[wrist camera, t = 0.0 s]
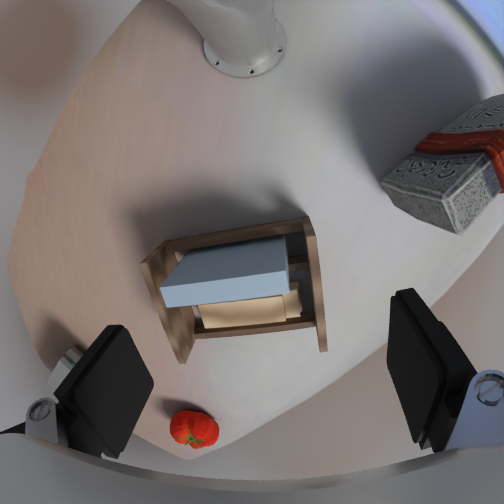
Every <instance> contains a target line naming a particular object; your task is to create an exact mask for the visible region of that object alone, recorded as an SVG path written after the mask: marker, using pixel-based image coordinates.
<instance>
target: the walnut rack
mask: <svg viewBox="0 0 504 504" xmlns="http://www.w3.org/2000/svg"><path fill="white" fill-rule="evenodd" d="M299 231H303V233H304V239H305V246H306V253H307V255H300V256H294V257H288V270H289V272H291V271H298V270H304V269H309V275H310V283H311V291H312V299H313V308H314V312H308V313H301V314H300V317H292V318H286V321H283V322H274V323H264V324H254V325H244V326H232V327H219V328H205V327H204V324H203V325H198V324H197V321H196V318H195V315H194V312H193V309H192V307H191V305H189V306H179V307H169V308H167V307H166V304H165V302H164V299H163V296H162V293H161V290H160V286H161V285H162V284H163V283H164V281H165V280H166V279H167V278H168V276H169V275H170V274H171V273H172V271H173V270H174V269H175V268H176V266H177V265H178V263H177V259H176V256H175V253H174V252H177V251H183V250H188V249H194V248H200V247H206V246H212V245H218V244H224V243H230V242H236V241H242V240H249V239H255V238H261V237H267V236H273V235H280V234H286V233H292V232H299ZM140 266H141V269H142V272H143V275H144V278H145V281H146V284H147V286H148V289H149V292H150V294H151V297H152V300H153V302H154V305H155V308H156V310H157V313H158V315H159V318H160V320H161V323H162V325H163V328H164V330H165V333H166V335H167V337H168V340H169V342H170V344H171V347H172V349H173V351H174V354H175V356H176V358H177V360H178V362H179V364H186V361H187V359H188V356H189V354H190V351H191V349H192V347H193V344H194V342H195V340H196V339H205V338H219V337H231V336H242V335H252V334H262V333H271V332H279V331H287V330H295V329H302V328H309V327H316V330H317V336H318V343H319V350H320V352H326V351H328V350H327V336H326V323H325V312H324V301H323V291H322V282H321V273H320V264H319V256H318V248H317V240H316V235H315V232H314V229H313V226H312V224H311V221H310V218H309V216H306V217H301V218H298V219H291V220H285V221H279V222H273V223H267V224H261V225H255V226H249V227H243V228H237V229H231V230H225V231H220V232H214V233H209V234H203V235H197V236H192V237H186V238H181V239H176V240H167V241H164V242H163V243H162V244H161V245H160V246H158V247H157V248H156V249H155V250H154V251H153V252H152V253H151V254H150V255H149V256H147V257H146V258H145V259H144V260H143V261H142V262H141V263H140Z"/></svg>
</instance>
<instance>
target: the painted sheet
mask: <svg viewBox="0 0 504 504" xmlns="http://www.w3.org/2000/svg"><path fill="white" fill-rule="evenodd" d="M160 290H161V293H162V296H163V299H164V302H165V304H166V307H167V308H169V307H179V306H189V305H199V304H208V303H218V302H226V301H235V300H243V299H251V298H259V297H266V296H274V295H281V294H288V293H289V270H288V251H287V245H286V239H285V234H282V235H276V236H269V237H263V238H257V239H251V240H245V241H239V242H232V243H226V244H220V245H214V246H208V247H202V248H196V249H190V250H189V252H188V253H187V254H186V255H185V257H184V258H183V259H182V260H181V261H180V263H179V264H178V265H177V266H176V268H175V269H174V270H173V271H172V273H171V274H170V275H169V276H168V278H167V279H166V280H165V281H164V283H163V284H162V285H161V286H160Z"/></svg>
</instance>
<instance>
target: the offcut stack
mask: <svg viewBox="0 0 504 504" xmlns="http://www.w3.org/2000/svg"><path fill="white" fill-rule="evenodd" d="M198 308H199V311H200V314H201V317H202V320H203V323H204V327H205V328H219V327H232V326H244V325H254V324H264V323H274V322H283V321H286V318H292V317H300V311H302V304H301V296H300V288H299V280H292V281H289V293H288V294H281V295H274V296H266V297H259V298H251V299H243V300H235V301H226V302H218V303H208V304H199V305H198Z"/></svg>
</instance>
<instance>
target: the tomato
mask: <svg viewBox="0 0 504 504" xmlns="http://www.w3.org/2000/svg"><path fill="white" fill-rule="evenodd" d="M170 433H171V435H172V437H173V438H174V439H175V441H177V442H178V443H182V444H185V445H187V444H189V445H190V446H191V447H193V448H194V449H199V448H202V447H205V446H211V445H213V444H214V443H215V442H216V441H217V439H218V437H219V426H218V424H217V423H216V422H215V421H214V420H213V419H212V418H210V417H209V416H208V415H206V414H204V413H201V412H195V411H190V410H183V411H179V412H177V413H175V414H174V415H173V417H172V418H171V422H170Z"/></svg>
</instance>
